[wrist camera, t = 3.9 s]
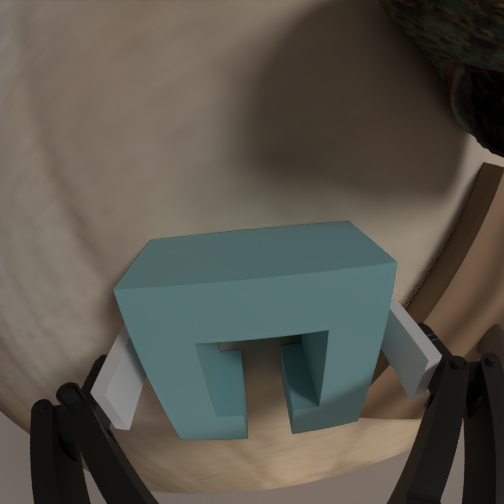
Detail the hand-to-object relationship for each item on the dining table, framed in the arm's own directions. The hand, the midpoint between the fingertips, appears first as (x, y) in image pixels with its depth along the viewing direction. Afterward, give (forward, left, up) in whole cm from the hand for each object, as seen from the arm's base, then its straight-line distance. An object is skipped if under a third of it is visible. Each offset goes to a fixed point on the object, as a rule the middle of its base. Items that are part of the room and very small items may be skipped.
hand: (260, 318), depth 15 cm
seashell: (+2, +18, 0) cm, 18 cm away
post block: (+19, +5, 0) cm, 19 cm away
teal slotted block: (0, 0, 0) cm, 0 cm away
